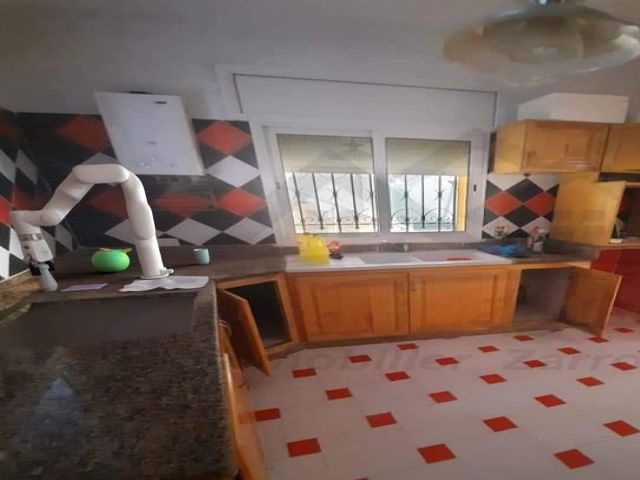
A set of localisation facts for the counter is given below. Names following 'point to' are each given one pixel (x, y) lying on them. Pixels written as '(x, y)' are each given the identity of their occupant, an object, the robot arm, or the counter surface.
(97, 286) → the dish towel
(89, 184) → the robot arm
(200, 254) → the cup
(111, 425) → the counter surface
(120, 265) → the green round piece
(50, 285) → the salt shaker
